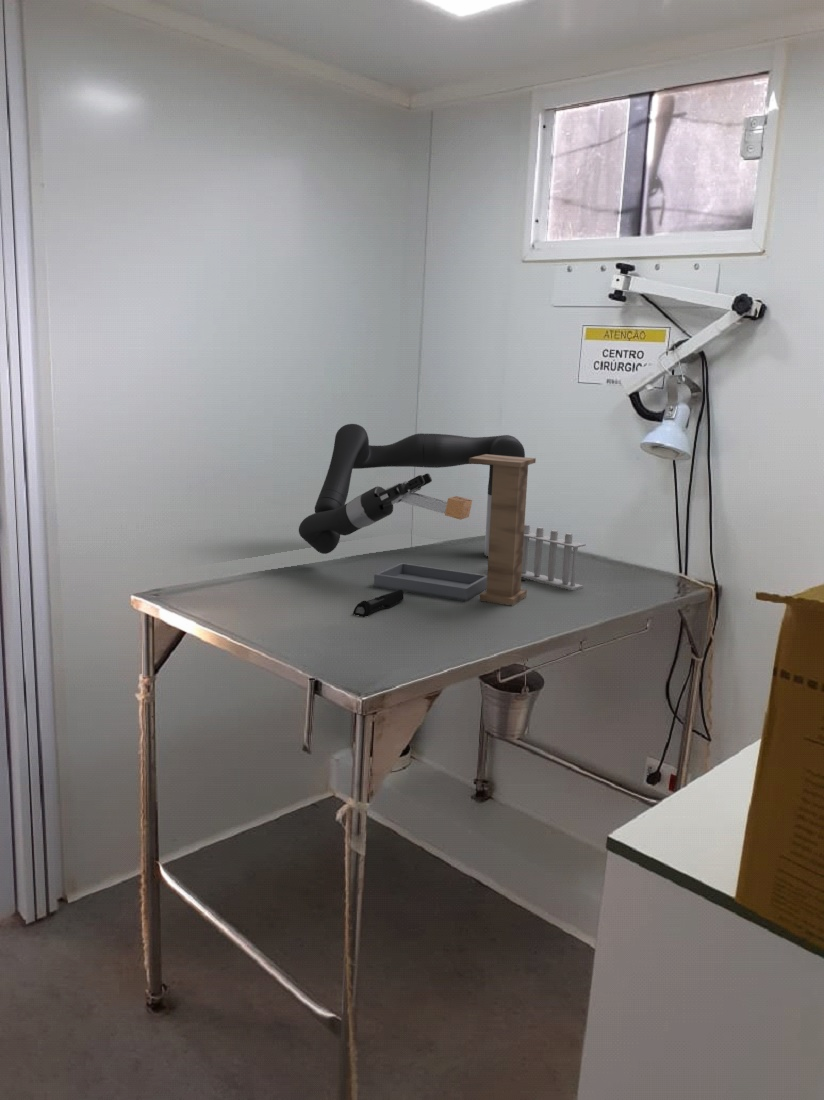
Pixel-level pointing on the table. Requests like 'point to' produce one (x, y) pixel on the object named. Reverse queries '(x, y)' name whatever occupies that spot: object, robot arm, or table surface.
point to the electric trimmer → (378, 603)
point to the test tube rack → (550, 558)
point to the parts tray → (431, 581)
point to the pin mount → (506, 527)
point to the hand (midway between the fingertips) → (426, 478)
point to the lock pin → (441, 504)
